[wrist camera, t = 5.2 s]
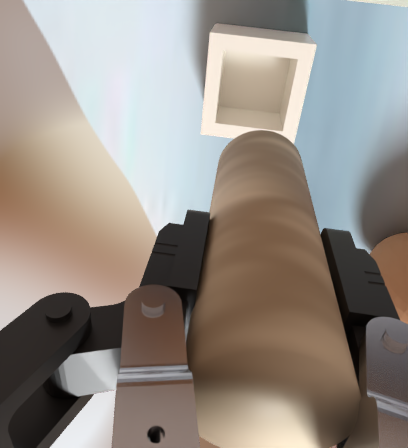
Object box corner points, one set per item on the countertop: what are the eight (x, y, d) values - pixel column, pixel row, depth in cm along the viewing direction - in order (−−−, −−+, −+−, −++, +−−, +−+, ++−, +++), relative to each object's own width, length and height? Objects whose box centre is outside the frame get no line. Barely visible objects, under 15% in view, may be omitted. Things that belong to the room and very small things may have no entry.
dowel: (311, 136, 16) (391, 365, 7) (291, 211, 18) (333, 468, 9) (222, 124, 16) (181, 334, 7) (213, 201, 18) (171, 443, 9)
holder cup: (307, 33, 29) (316, 44, 25) (288, 123, 33) (293, 145, 29) (215, 23, 30) (209, 32, 26) (207, 113, 34) (200, 134, 29)
